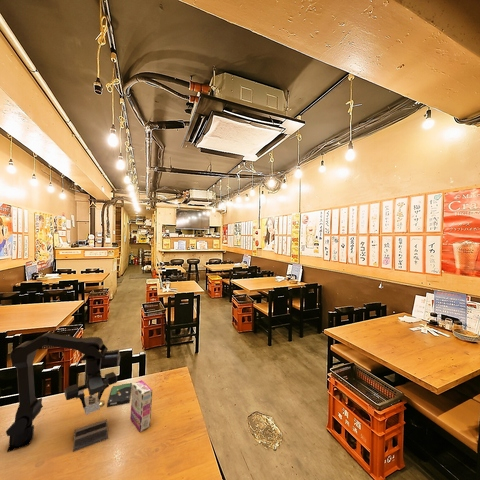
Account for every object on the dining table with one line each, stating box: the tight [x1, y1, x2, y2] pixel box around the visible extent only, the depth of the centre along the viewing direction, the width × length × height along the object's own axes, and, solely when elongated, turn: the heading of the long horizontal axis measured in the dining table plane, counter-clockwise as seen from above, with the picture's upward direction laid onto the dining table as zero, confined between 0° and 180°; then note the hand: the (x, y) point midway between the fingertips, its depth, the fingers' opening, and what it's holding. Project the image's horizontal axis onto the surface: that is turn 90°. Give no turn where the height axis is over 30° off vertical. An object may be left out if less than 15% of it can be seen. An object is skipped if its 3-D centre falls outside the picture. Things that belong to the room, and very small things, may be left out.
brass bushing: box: [100, 399, 106, 408], centre depth 115 cm, size 3×3×2 cm
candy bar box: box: [130, 379, 153, 433], centre depth 105 cm, size 11×5×16 cm, turn 47°
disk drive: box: [106, 382, 133, 408], centre depth 122 cm, size 10×3×15 cm
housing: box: [82, 393, 101, 416], centre depth 99 cm, size 7×5×4 cm
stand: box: [72, 419, 109, 453], centre depth 97 cm, size 12×11×2 cm
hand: (91, 404), depth 99 cm, fingers closed on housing, 5 cm apart
